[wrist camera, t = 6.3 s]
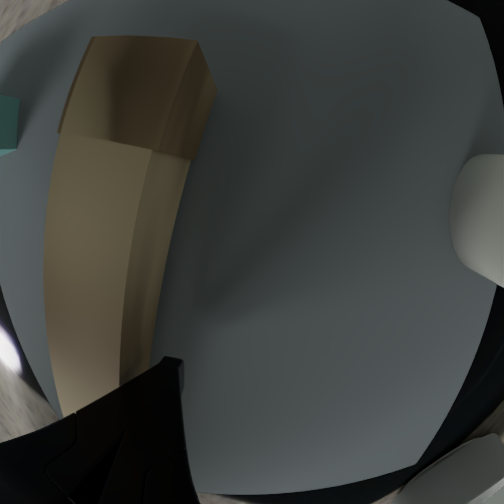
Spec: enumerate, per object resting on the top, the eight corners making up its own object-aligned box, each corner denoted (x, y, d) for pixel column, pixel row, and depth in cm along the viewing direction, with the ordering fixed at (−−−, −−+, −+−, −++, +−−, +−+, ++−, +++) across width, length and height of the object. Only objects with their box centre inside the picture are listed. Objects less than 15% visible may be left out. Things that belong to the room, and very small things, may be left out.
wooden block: (145, 430, 10) (128, 483, 7) (100, 413, 9) (76, 461, 7) (217, 89, 6) (197, 40, 3) (143, 77, 6) (91, 36, 3)
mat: (414, 461, 12) (415, 463, 12) (99, 470, 12) (98, 472, 12) (476, 18, 5) (479, 17, 5) (4, 42, 5) (1, 41, 5)
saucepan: (526, 422, 14) (546, 448, 8) (380, 512, 15) (392, 551, 10) (560, 351, 11) (591, 379, 5) (389, 473, 12) (411, 533, 7)
